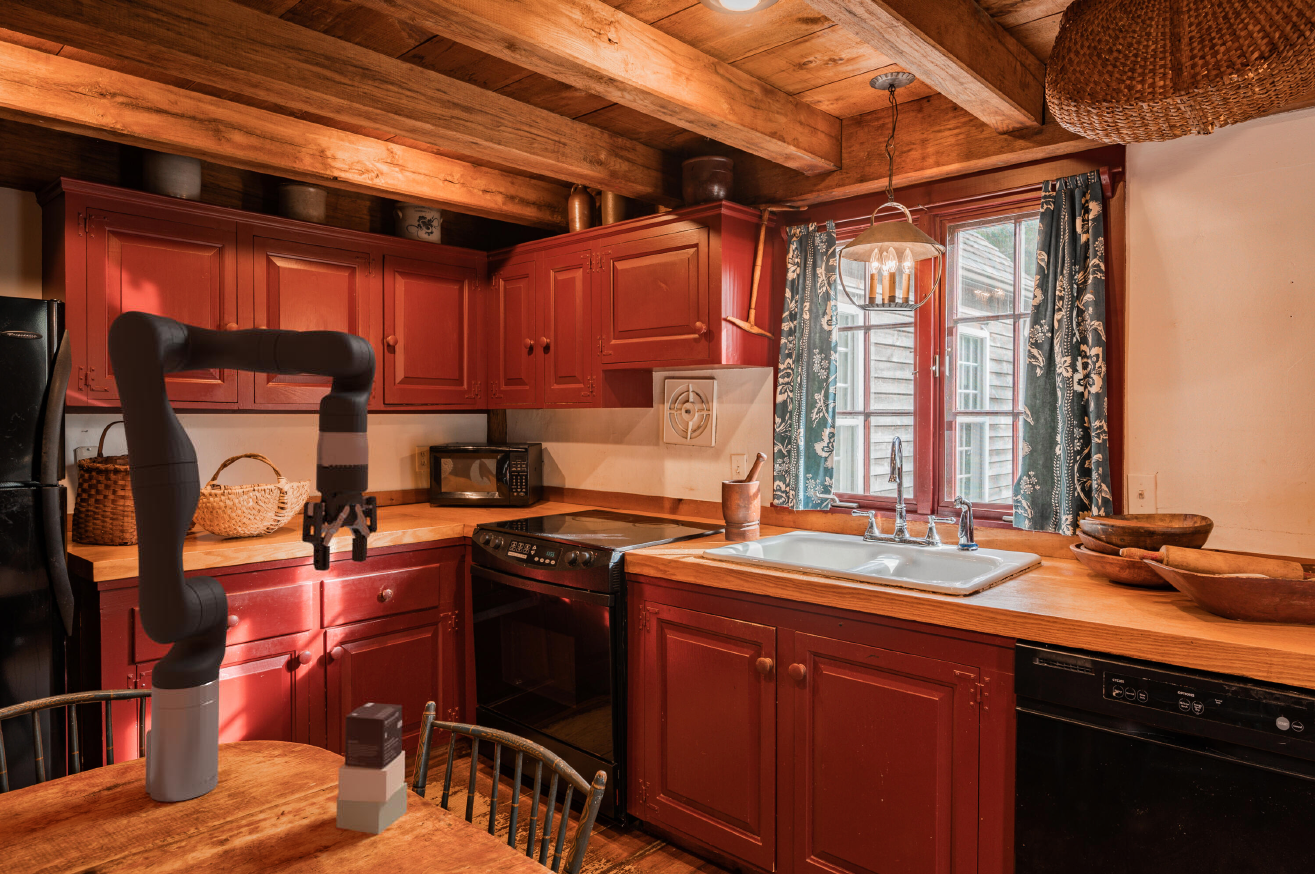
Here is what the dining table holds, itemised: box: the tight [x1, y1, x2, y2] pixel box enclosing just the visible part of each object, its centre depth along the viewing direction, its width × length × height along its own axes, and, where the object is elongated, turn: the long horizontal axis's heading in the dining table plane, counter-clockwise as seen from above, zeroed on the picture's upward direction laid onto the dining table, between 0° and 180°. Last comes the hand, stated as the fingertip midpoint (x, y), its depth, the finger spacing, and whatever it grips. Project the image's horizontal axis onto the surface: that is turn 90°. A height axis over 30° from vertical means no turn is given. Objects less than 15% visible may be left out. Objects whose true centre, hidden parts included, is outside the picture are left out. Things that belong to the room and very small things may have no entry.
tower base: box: [335, 781, 408, 835], centre depth 117 cm, size 7×7×4 cm
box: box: [344, 702, 403, 769], centre depth 117 cm, size 6×6×7 cm
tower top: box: [337, 750, 406, 802], centre depth 117 cm, size 7×7×4 cm
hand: (341, 565), depth 124 cm, fingers open, 8 cm apart
